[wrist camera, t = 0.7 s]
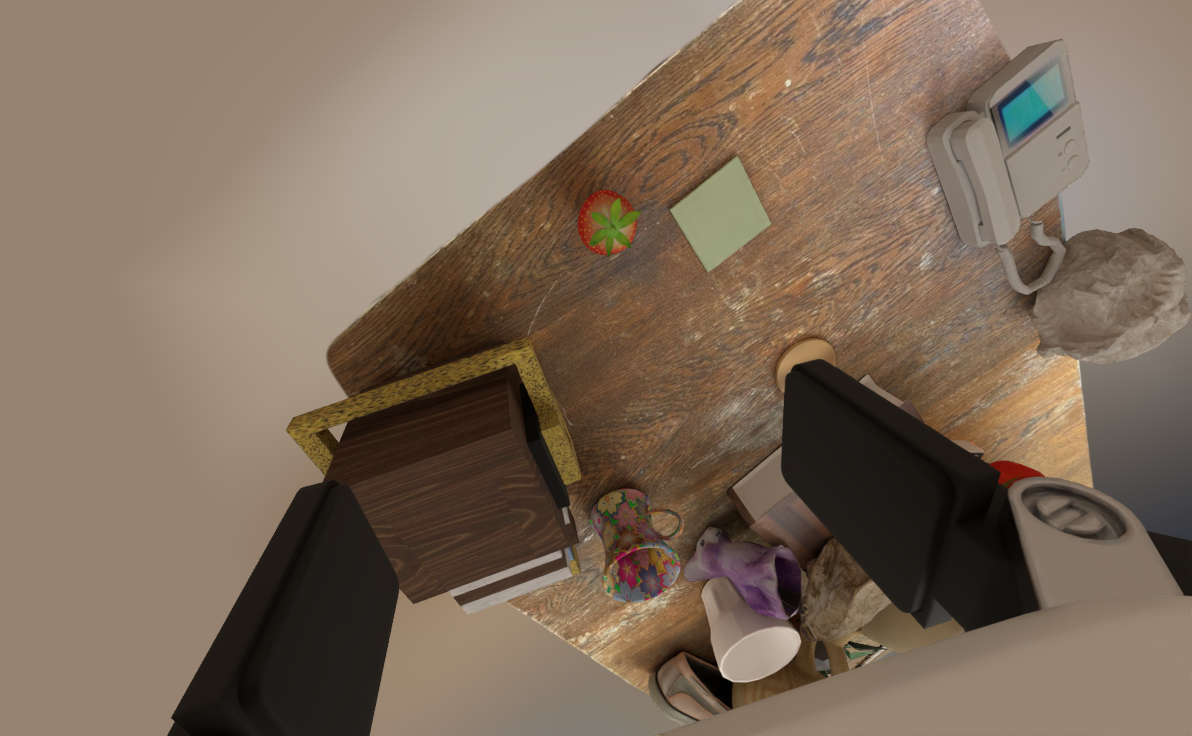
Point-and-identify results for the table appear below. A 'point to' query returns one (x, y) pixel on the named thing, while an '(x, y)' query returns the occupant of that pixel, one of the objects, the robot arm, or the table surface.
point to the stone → (1111, 297)
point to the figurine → (750, 572)
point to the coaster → (802, 357)
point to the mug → (634, 546)
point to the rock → (837, 596)
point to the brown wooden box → (458, 474)
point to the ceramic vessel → (794, 671)
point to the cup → (746, 634)
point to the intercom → (1012, 154)
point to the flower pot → (906, 630)
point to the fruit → (607, 222)
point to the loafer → (690, 689)
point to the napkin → (721, 214)
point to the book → (788, 501)
